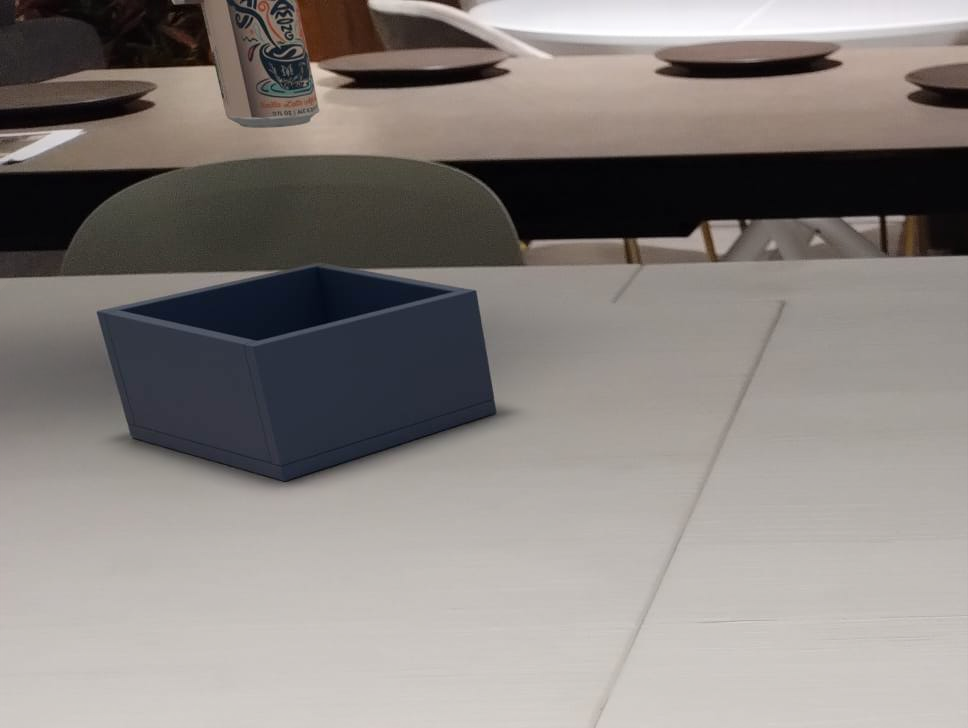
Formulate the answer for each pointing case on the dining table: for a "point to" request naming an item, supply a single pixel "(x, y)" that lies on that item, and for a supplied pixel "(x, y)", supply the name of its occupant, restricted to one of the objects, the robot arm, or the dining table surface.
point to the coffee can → (261, 61)
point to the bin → (299, 367)
